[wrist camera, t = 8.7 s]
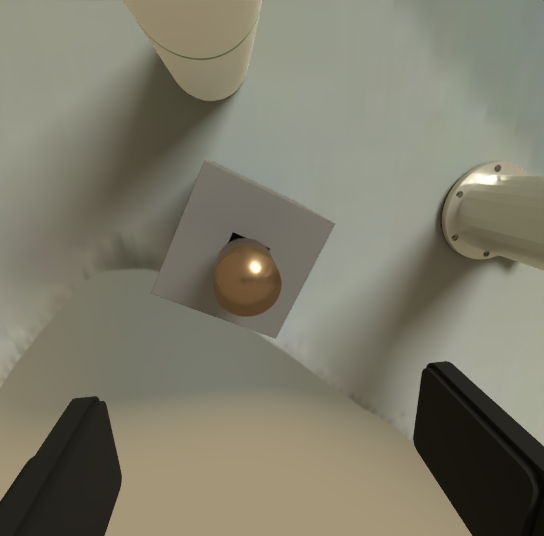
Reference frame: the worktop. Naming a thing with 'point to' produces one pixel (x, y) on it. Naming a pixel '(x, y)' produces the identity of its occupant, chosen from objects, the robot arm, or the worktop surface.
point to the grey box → (250, 224)
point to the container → (201, 41)
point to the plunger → (246, 277)
